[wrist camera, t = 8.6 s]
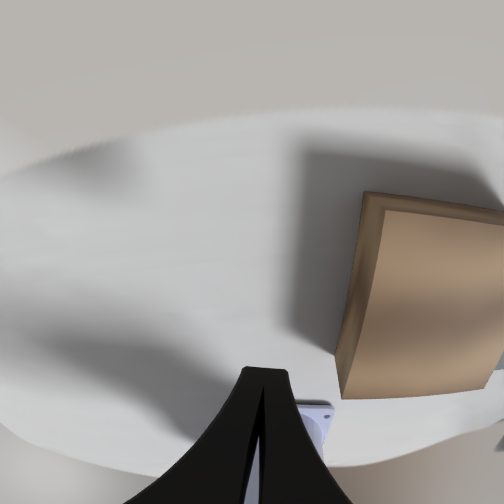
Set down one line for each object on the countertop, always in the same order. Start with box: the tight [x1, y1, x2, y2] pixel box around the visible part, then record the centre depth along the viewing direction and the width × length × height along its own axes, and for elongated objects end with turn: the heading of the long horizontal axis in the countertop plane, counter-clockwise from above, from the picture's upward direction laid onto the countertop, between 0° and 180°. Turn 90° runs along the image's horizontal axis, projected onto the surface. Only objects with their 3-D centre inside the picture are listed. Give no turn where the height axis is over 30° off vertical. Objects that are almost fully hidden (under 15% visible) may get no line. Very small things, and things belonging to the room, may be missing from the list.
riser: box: [335, 191, 504, 399], centre depth 16 cm, size 11×10×4 cm
